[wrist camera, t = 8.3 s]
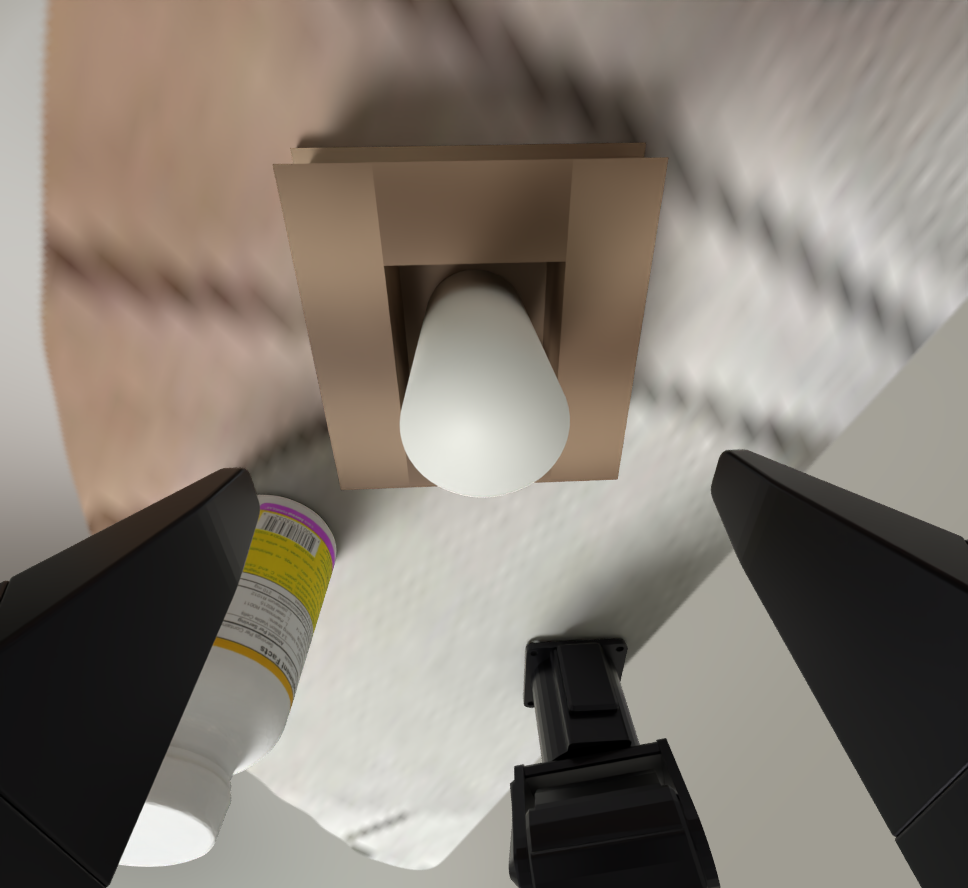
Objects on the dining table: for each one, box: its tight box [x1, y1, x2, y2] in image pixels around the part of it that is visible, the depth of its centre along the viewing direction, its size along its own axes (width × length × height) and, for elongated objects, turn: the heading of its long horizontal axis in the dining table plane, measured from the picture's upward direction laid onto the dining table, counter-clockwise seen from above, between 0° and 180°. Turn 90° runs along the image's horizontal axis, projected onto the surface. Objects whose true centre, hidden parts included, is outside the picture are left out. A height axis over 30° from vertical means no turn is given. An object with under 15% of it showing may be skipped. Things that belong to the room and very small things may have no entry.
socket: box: [273, 143, 668, 490], centre depth 17 cm, size 12×12×4 cm
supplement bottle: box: [119, 495, 336, 867], centre depth 19 cm, size 7×7×13 cm
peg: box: [400, 269, 570, 498], centre depth 15 cm, size 4×4×9 cm
